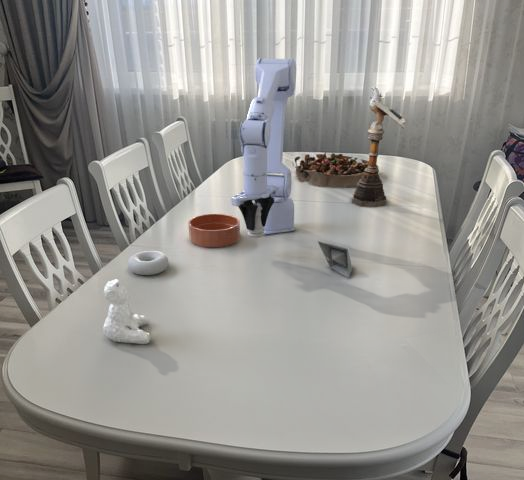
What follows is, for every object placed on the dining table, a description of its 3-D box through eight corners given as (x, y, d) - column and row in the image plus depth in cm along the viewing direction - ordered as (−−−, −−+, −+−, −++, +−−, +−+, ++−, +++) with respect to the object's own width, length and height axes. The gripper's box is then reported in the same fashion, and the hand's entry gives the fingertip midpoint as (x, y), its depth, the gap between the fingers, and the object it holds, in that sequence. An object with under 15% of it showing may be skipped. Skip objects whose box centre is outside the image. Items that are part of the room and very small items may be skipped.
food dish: (295, 164, 228) (296, 145, 224) (375, 168, 224) (378, 148, 220) (286, 185, 198) (287, 162, 194) (379, 189, 194) (382, 167, 190)
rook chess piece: (246, 232, 142) (246, 201, 138) (263, 231, 143) (263, 201, 138) (247, 238, 139) (247, 207, 134) (265, 237, 139) (265, 206, 135)
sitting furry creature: (151, 344, 106) (144, 288, 99) (105, 351, 104) (95, 294, 97) (146, 321, 113) (138, 268, 107) (103, 327, 111) (93, 273, 105)
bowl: (231, 228, 161) (230, 211, 158) (246, 244, 150) (246, 227, 147) (184, 233, 157) (183, 216, 154) (196, 251, 146) (195, 233, 143)
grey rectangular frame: (368, 265, 135) (353, 268, 127) (351, 283, 138) (335, 287, 130) (336, 230, 137) (320, 231, 130) (320, 249, 141) (303, 251, 133)
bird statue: (400, 196, 187) (415, 83, 168) (402, 208, 176) (419, 88, 157) (351, 194, 189) (361, 82, 170) (350, 205, 178) (360, 87, 159)
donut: (157, 280, 131) (176, 263, 139) (155, 267, 129) (175, 251, 137) (120, 274, 133) (141, 258, 141) (118, 261, 132) (139, 246, 139)
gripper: (245, 182, 125) (246, 239, 133) (287, 170, 134) (286, 224, 141) (224, 176, 130) (226, 231, 137) (267, 165, 138) (267, 217, 146)
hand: (255, 227), depth 139 cm, fingers closed on rook chess piece, 3 cm apart
